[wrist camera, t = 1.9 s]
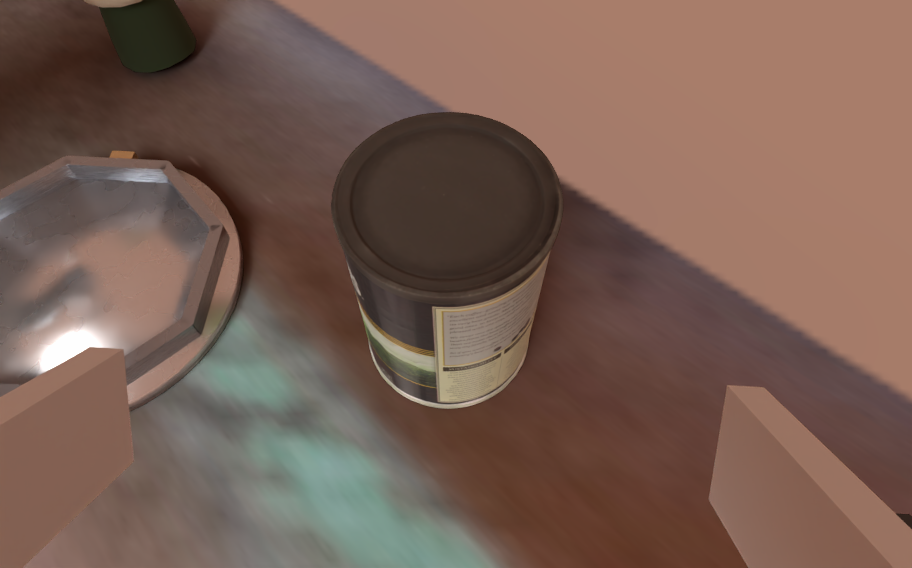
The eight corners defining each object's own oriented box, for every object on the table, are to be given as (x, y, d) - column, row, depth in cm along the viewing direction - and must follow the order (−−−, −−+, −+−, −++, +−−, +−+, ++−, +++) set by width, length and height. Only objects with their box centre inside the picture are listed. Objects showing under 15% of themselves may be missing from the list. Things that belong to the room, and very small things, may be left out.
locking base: (-137, 421, 37) (-173, 407, 35) (6, 161, 47) (-15, 138, 45) (198, 443, 37) (182, 430, 34) (271, 175, 47) (262, 152, 44)
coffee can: (353, 400, 38) (305, 282, 26) (384, 257, 43) (356, 101, 31) (525, 421, 37) (559, 309, 25) (535, 272, 42) (567, 120, 30)
